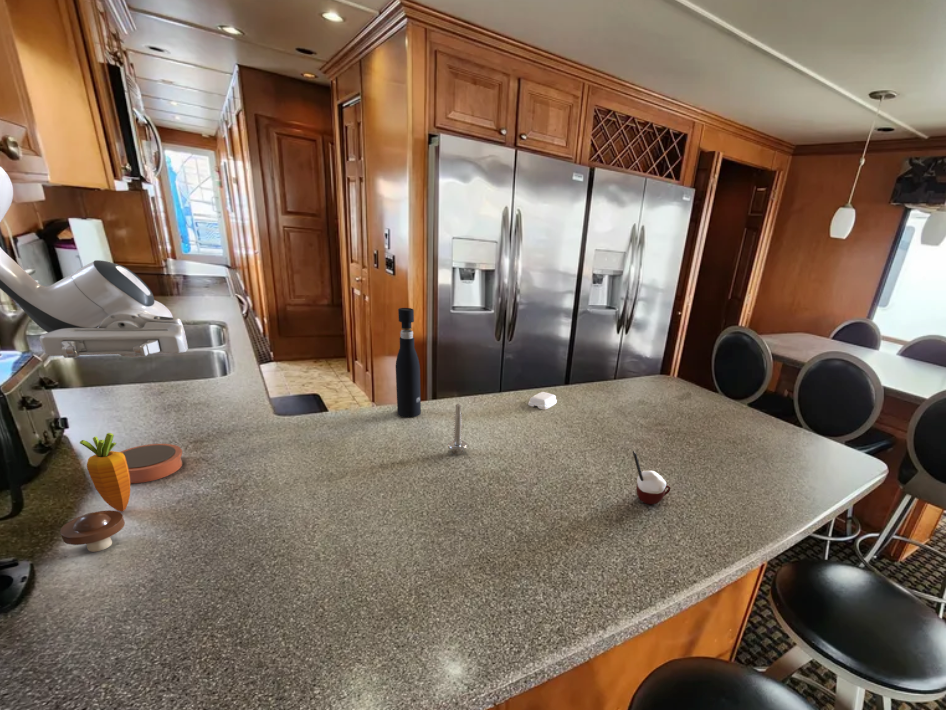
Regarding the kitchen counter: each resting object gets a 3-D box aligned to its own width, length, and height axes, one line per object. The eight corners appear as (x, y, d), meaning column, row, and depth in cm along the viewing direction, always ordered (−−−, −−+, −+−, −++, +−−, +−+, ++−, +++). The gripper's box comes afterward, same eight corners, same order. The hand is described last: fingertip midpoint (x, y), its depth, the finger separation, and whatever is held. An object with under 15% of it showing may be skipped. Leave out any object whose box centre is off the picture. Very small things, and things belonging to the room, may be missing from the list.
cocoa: (667, 496, 103) (678, 449, 99) (667, 512, 98) (678, 462, 93) (626, 488, 105) (634, 441, 100) (623, 502, 99) (632, 453, 95)
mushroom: (56, 554, 71) (43, 522, 68) (108, 528, 77) (98, 498, 75) (91, 565, 69) (79, 533, 67) (140, 538, 75) (131, 507, 73)
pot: (92, 476, 90) (88, 462, 88) (155, 451, 100) (152, 438, 99) (139, 489, 87) (135, 475, 86) (199, 462, 98) (196, 449, 97)
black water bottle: (397, 409, 134) (393, 306, 123) (420, 408, 136) (418, 307, 125) (397, 418, 129) (392, 310, 117) (421, 417, 130) (418, 311, 119)
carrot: (96, 520, 78) (69, 442, 73) (113, 504, 83) (88, 429, 77) (131, 518, 80) (107, 441, 74) (146, 502, 84) (124, 428, 78)
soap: (540, 397, 155) (541, 389, 154) (558, 402, 152) (558, 394, 151) (526, 404, 147) (527, 396, 146) (545, 410, 145) (545, 401, 143)
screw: (462, 458, 111) (444, 454, 112) (470, 450, 115) (452, 446, 116) (463, 408, 106) (444, 405, 107) (471, 402, 110) (453, 398, 111)
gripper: (54, 317, 86) (14, 335, 75) (190, 318, 95) (172, 334, 83) (65, 350, 88) (28, 372, 77) (196, 348, 97) (180, 367, 86)
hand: (104, 352), depth 80 cm, fingers open, 8 cm apart
